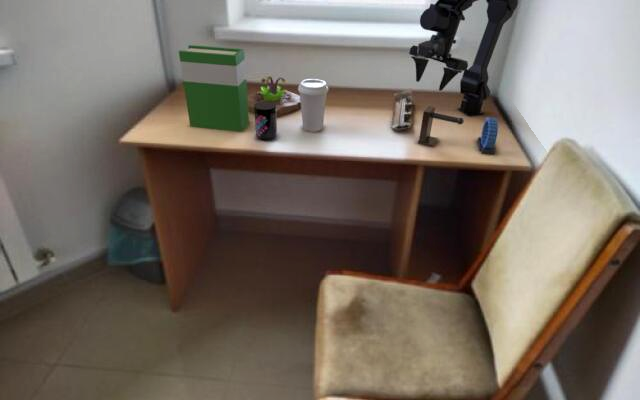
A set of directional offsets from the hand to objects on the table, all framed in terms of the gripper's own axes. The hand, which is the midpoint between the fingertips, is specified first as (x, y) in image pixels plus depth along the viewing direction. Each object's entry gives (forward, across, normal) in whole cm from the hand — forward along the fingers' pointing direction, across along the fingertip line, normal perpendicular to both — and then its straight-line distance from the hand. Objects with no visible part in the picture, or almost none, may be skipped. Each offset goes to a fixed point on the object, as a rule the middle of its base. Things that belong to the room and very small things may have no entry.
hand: (428, 85), depth 137 cm
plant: (+22, -45, -25) cm, 56 cm away
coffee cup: (+22, -21, -24) cm, 39 cm away
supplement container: (+26, -24, -40) cm, 53 cm away
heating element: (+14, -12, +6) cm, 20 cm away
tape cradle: (+13, +20, +10) cm, 26 cm away
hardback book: (+28, -41, -47) cm, 68 cm away
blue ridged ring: (+8, +20, +9) cm, 24 cm away
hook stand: (+15, +11, 0) cm, 19 cm away
